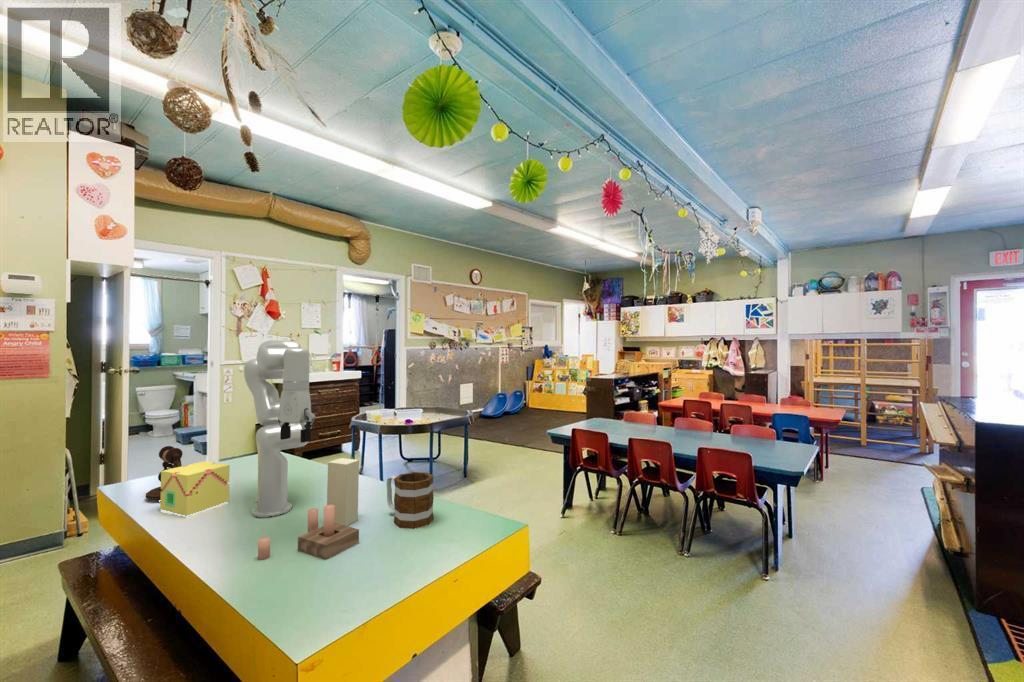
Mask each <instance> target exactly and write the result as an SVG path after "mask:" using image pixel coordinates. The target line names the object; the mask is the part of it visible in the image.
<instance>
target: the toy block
mask: <svg viewBox="0 0 1024 682" xmlns="http://www.w3.org/2000/svg"><path fill="white" fill-rule="evenodd" d="M167 469H168V468H167ZM160 472H161V482H160V487H161V489H162V491H161V501H160V503H159V504H160V506H159V507H160V508H159V509H162V510H166V511H170V512H173V513H177V514H181V515H185V516H187V515H190V514H193V513H196V512H199V511H202V510H205V509H207V508H210V507H213V506H216V505H219V504H221V503H224V502H228V501H229V502H230V464H226V463H218V462H217V463H216V462H212V461H206V460H202V461H199V462H195V463H191V464H187V465H183V466H182V467H177V468H169V469H168V470H164V469H163V471H162V470H161V471H160ZM228 483H229V484H228Z"/></svg>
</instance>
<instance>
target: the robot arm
mask: <svg viewBox="0 0 1024 682" xmlns="http://www.w3.org/2000/svg"><path fill="white" fill-rule="evenodd" d="M243 374H244V375H243V376H244V379H245V383H246V385H247V388H248V389H249V391H250V392H251V395H252V396H253V402H254V408H255V409H254V410H255V416H256V418H257V422H258V424H259V425H261V427H260V428H259V429H257V431H256V433H255V444H256V445H255V446H256V450H257V498H255V499H254V500H253V503H254V504H256V507H255V508H253V510H251V512H252V516H253V515H254V517H256V516H257V518H270V517H269V516H272V517H276V516H275V515H277V516H280V514H281V515H284V514H287V513H288V512H290V511H291V510H292V509H291V508H292V507H293V506H292V504H291V503H290V502H288V483H289V482H288V481H289V480H288V479H289V478H288V477H289V476H288V472H289V471H288V467H289V466H288V463H289V462H288V460H287V457H286V456H285V455H283V454H282V452H281V451H283V450H290V449H296V448H302V447H305V446H306V445H307V444H308V443H309V442H311V440H312V439H311V438H312V437H311V435H312V429H313V425H315V421H316V417H317V416H316V415H315V414H314V413H313V412H312V403H311V394H310V393H311V392H310V351H309V349H307V348H302V347H301V344H300V343H299V342H298V341H296V340H282V339H281V340H276V339H275V340H273V339H271V340H266V341H264V342H262V343H261V344H260V345H259V346H258V348H257V352H256V358H253V359H250V360H248V361H246V363H245V364H244V366H243ZM267 380H282V391H281V393H280V395H279V391H278V389H277V388H276V387H275V386H274V385H273V384H272V383H270V382H269V381H267ZM289 510H290V511H289ZM283 513H284V514H283Z"/></svg>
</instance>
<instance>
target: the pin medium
mask: <svg viewBox="0 0 1024 682" xmlns="http://www.w3.org/2000/svg"><path fill="white" fill-rule="evenodd" d="M317 528H319V508H311V509H308V510H307V533H308V532H310V531H313V530H315V529H317Z"/></svg>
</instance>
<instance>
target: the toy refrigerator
mask: <svg viewBox="0 0 1024 682" xmlns="http://www.w3.org/2000/svg"><path fill="white" fill-rule="evenodd" d="M359 472H360V459H355V458H354V459H353V458H346V457H344V458H343V457H340V458H336V459H333V460H331V461H328V462H327V484H326V485H327V487H326V491H327V493H326V494H327V495H326V505H335V523H337V524H340V525H344V526H348V527H349V525H352V524H354V523H355V522H357V521H358V520H359V518H358V517H359V484H360V483H359V482H360V481H359V477H360V476H359V475H360V474H359Z"/></svg>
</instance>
